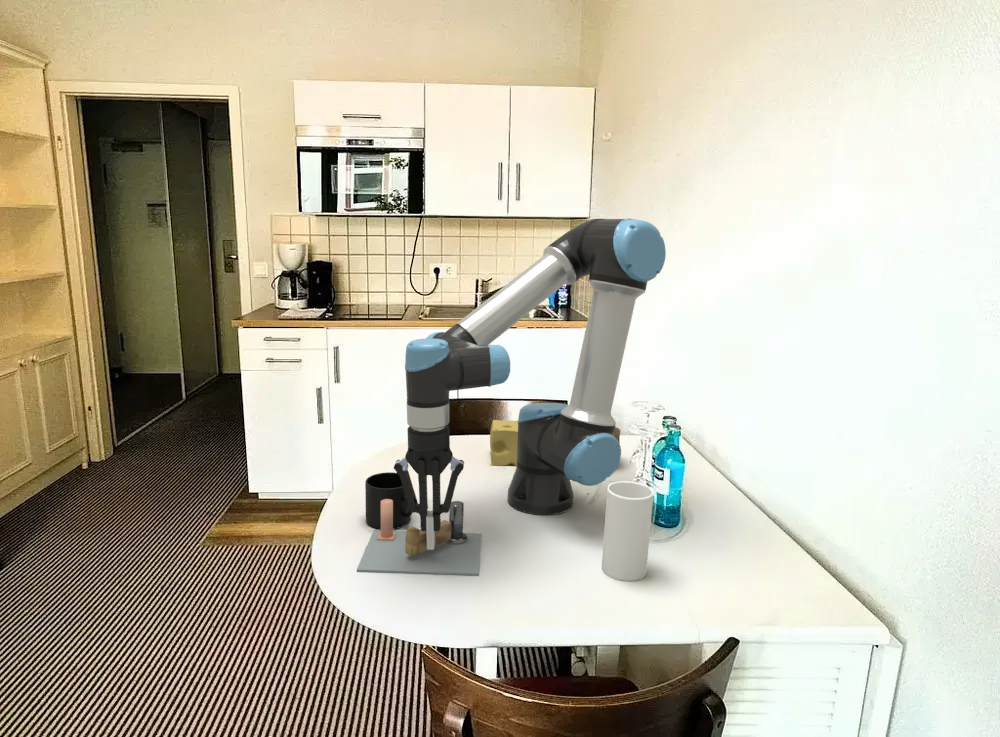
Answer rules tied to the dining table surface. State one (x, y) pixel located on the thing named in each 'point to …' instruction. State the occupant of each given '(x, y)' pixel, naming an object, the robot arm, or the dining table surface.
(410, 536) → the gate
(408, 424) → the robot arm
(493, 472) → the dining table surface
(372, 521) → the mug
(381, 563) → the mat
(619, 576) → the cup
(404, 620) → the dining table surface
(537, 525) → the dining table surface
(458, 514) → the pivot post
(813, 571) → the dining table surface
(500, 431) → the cheese
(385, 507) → the post
